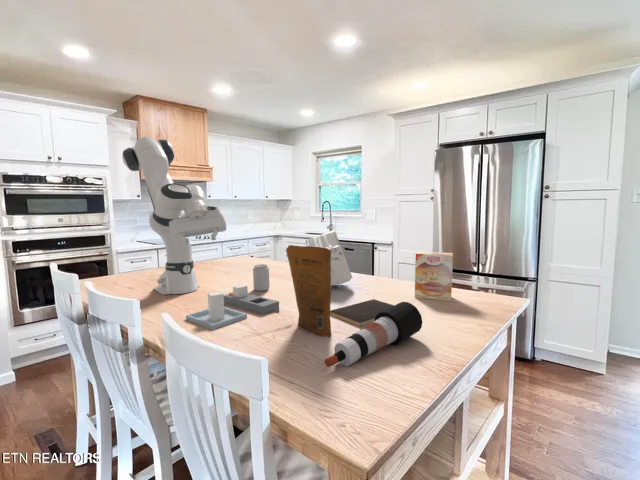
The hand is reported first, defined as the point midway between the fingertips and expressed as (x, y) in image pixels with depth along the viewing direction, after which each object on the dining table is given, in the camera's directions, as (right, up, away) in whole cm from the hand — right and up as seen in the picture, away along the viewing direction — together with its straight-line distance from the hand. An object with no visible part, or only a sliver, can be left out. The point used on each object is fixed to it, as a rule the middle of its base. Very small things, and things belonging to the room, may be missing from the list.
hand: (200, 241), depth 124 cm
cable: (+59, -31, -29) cm, 72 cm away
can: (+16, -24, +38) cm, 48 cm away
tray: (+7, -28, -4) cm, 30 cm away
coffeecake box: (+93, -25, +23) cm, 99 cm away
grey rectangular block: (+7, -27, -4) cm, 29 cm away
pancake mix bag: (+41, -29, -13) cm, 52 cm away
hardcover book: (+61, -28, +3) cm, 67 cm away
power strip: (+16, -27, +10) cm, 33 cm away
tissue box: (+48, -23, +45) cm, 69 cm away
